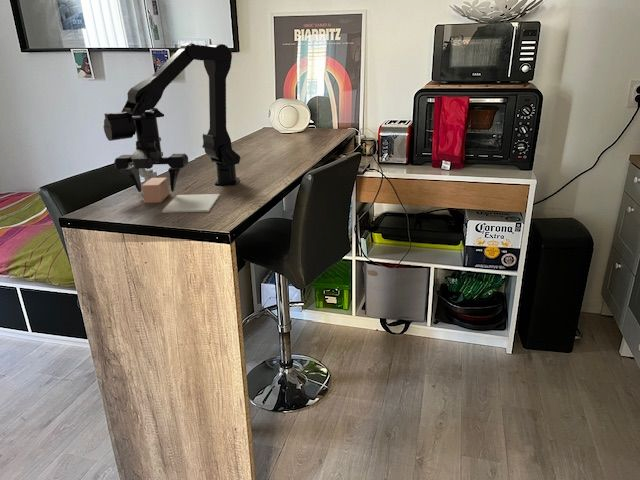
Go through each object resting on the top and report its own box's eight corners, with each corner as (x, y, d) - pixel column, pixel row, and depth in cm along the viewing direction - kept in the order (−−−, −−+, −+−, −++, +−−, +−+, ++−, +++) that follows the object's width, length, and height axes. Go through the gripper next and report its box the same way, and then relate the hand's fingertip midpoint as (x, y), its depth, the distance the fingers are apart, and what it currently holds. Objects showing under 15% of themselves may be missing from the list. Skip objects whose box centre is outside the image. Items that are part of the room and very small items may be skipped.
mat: (177, 196, 142) (177, 194, 141) (219, 195, 141) (219, 194, 141) (162, 212, 129) (162, 210, 128) (208, 211, 128) (208, 209, 128)
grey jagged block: (154, 184, 154) (150, 158, 151) (158, 184, 154) (154, 159, 151) (139, 190, 148) (134, 164, 145) (144, 191, 148) (139, 164, 145)
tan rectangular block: (154, 194, 145) (151, 177, 143) (169, 194, 144) (167, 177, 143) (144, 203, 137) (141, 185, 135) (160, 202, 137) (158, 185, 135)
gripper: (100, 142, 127) (111, 200, 133) (173, 140, 127) (181, 199, 132) (118, 134, 137) (127, 189, 143) (185, 132, 137) (192, 187, 143)
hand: (156, 191), depth 140 cm, fingers open, 9 cm apart
